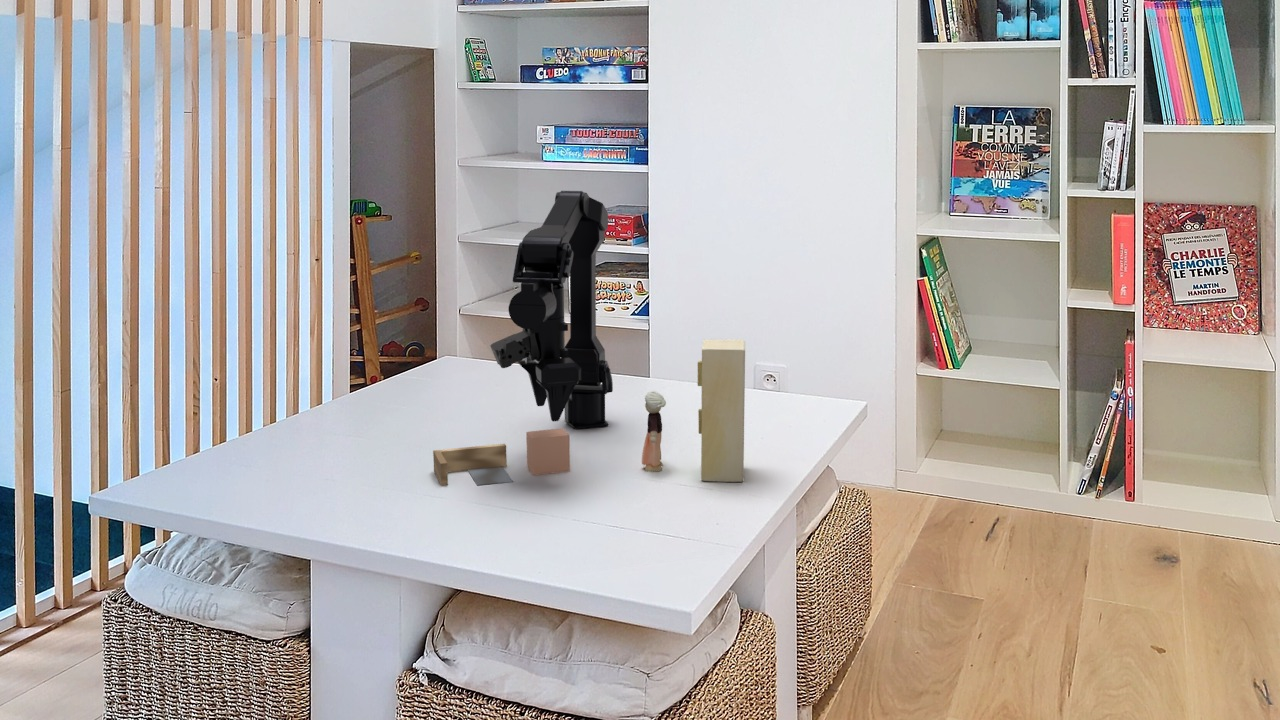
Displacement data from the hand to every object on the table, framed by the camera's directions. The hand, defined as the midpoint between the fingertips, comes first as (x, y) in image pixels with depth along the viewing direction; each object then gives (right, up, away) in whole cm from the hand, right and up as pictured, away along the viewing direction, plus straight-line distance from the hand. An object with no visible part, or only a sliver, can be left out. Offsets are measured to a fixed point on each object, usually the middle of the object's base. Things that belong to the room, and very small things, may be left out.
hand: (547, 413), depth 186 cm
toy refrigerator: (+27, -10, 0) cm, 29 cm away
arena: (-11, -10, -2) cm, 15 cm away
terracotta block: (0, -9, +2) cm, 9 cm away
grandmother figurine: (+17, -9, +2) cm, 19 cm away
